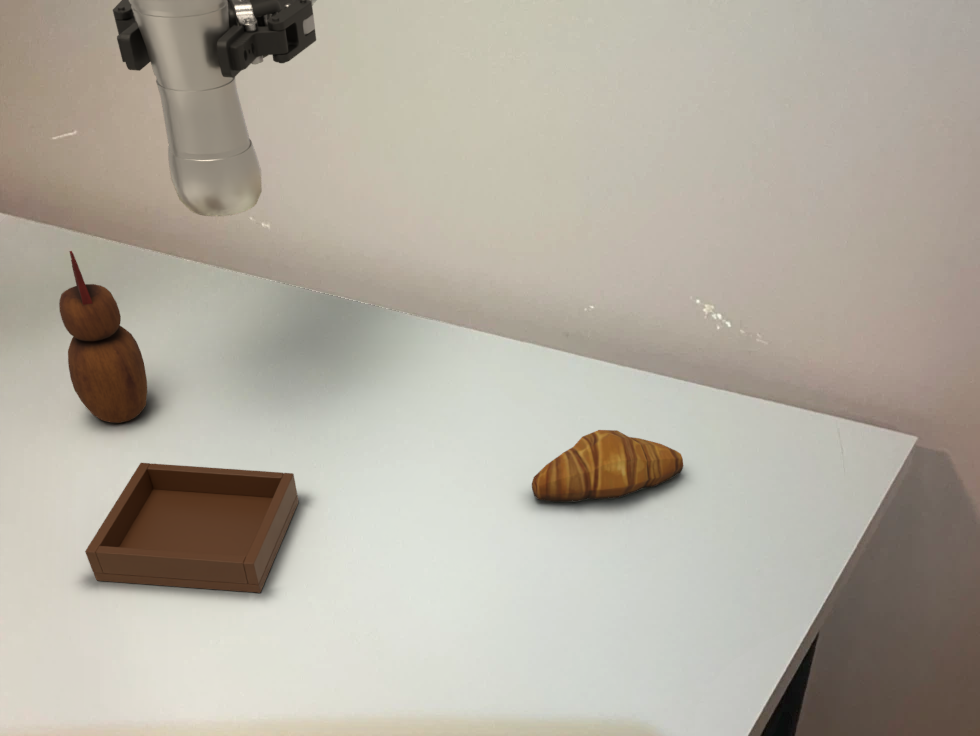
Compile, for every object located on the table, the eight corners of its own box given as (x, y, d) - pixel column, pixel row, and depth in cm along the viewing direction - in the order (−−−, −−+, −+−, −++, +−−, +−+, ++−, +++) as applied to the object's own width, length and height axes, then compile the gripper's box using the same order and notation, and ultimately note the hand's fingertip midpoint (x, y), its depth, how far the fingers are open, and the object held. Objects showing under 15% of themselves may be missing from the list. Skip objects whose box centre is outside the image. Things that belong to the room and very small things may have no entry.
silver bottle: (278, 218, 78) (224, -113, 63) (191, 234, 76) (113, -104, 61) (252, 186, 82) (194, -133, 67) (168, 201, 80) (89, -126, 65)
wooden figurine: (146, 431, 90) (96, 261, 79) (80, 432, 90) (19, 262, 79) (160, 392, 95) (114, 226, 84) (97, 393, 95) (42, 226, 83)
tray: (96, 581, 77) (84, 551, 74) (149, 491, 84) (140, 462, 82) (260, 593, 76) (253, 563, 74) (299, 501, 84) (293, 472, 82)
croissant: (663, 451, 90) (670, 400, 86) (696, 494, 86) (704, 442, 82) (518, 478, 87) (519, 426, 83) (545, 524, 82) (546, 471, 79)
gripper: (153, -76, 78) (56, -16, 67) (337, -64, 77) (269, -2, 66) (177, 38, 83) (91, 111, 72) (349, 50, 82) (288, 126, 71)
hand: (176, 57), depth 69 cm, fingers closed on silver bottle, 6 cm apart
